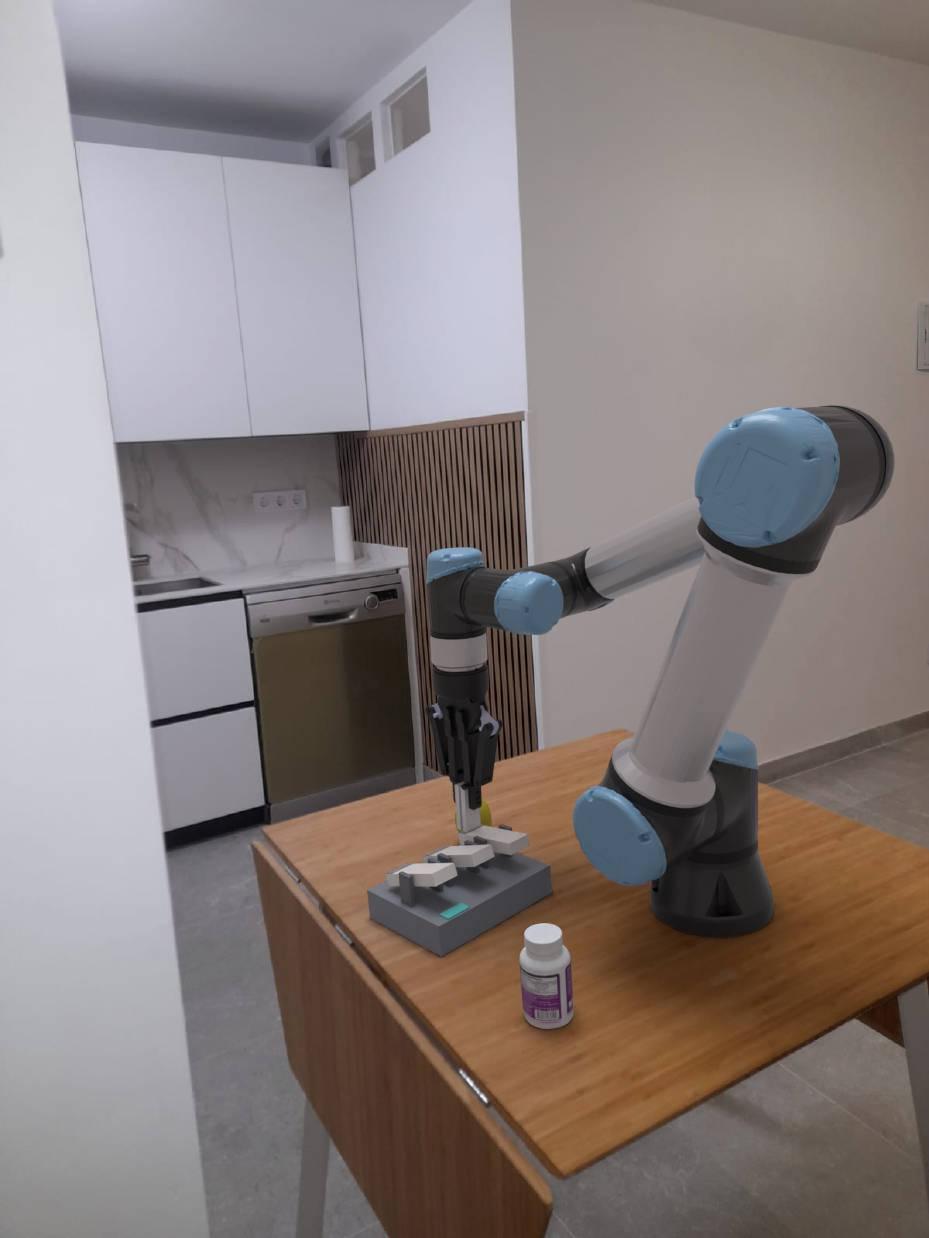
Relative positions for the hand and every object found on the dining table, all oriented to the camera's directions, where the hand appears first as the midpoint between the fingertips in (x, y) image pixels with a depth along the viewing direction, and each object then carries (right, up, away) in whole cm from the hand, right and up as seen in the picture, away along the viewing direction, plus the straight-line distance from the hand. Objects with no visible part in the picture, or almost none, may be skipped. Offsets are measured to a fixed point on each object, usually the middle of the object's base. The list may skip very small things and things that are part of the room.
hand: (468, 827), depth 127 cm
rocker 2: (-1, -2, -8) cm, 8 cm away
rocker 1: (-6, -3, -12) cm, 14 cm away
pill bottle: (+8, -13, -30) cm, 34 cm away
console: (-1, -9, -6) cm, 11 cm away
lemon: (+1, -5, +12) cm, 13 cm away
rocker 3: (+3, -1, -3) cm, 5 cm away
